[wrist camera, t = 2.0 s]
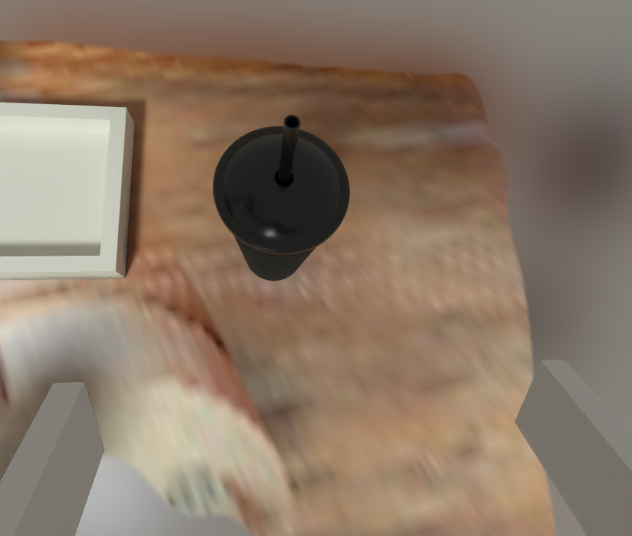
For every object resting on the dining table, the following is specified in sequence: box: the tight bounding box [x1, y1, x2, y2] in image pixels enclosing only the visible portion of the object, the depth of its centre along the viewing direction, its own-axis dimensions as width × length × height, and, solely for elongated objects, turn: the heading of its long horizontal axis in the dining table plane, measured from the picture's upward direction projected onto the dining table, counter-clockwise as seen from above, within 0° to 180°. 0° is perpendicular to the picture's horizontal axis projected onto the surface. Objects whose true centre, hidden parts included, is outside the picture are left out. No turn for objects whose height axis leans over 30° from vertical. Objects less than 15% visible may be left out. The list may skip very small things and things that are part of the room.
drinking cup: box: [213, 115, 350, 281], centre depth 27 cm, size 8×8×20 cm
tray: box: [0, 102, 135, 280], centre depth 34 cm, size 16×14×2 cm
